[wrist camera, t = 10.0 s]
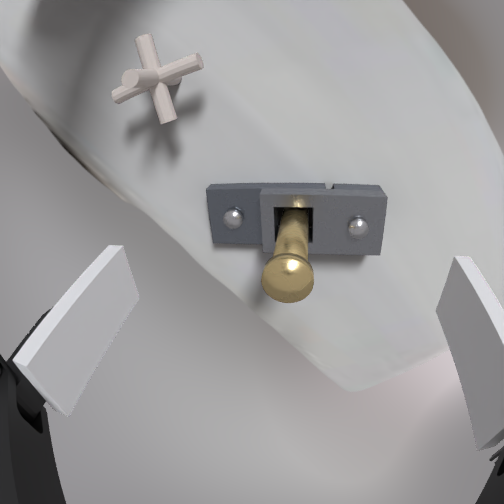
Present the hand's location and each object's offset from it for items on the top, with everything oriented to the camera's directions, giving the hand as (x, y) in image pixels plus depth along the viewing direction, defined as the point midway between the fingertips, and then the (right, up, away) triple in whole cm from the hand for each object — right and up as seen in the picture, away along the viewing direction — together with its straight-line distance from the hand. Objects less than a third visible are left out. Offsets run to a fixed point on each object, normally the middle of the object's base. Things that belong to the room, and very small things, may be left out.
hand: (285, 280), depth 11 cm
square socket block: (+4, +6, +25) cm, 26 cm away
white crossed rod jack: (-10, +21, +19) cm, 30 cm away
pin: (+4, +6, +25) cm, 26 cm away
